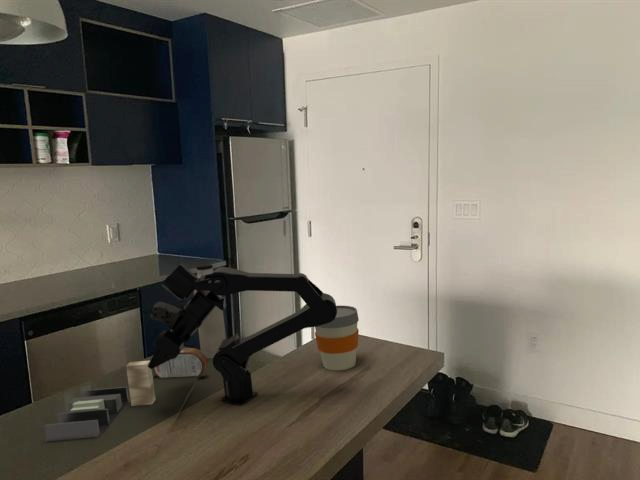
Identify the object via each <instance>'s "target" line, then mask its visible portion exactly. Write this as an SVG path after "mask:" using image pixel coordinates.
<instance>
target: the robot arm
mask: <svg viewBox="0 0 640 480" xmlns="http://www.w3.org/2000/svg"><path fill="white" fill-rule="evenodd" d="M161 286H162V287H163V288H165V290H167V291H168V292H169V293H171V294H172V295H173V296H174V297H176V298H177V300H184V299H186V300H188V299H189V297H191V295H192V294H193V296H192V297H191V299H190V300H189V301H188V302H187V303H186V305H183V307H181V308H179V307H177V306H175V305H172V304H169V303H166V302H163V301H158V302H155V303H154V304H153V306H152V307H153V308H152V310H151V311H150V316H149V318H150V319H151V320H154V321H159V322H162V323H165V324H166V327H167V328H168V330H162V331H161V332H160V333H159V334H158V335H157V336H156V337H155V338H154V339H153V341H152V342H153V345H154V346H155V351H154V353H153V355H152V357H151V359H150V360H149V361H150V363H149V365H148V367H149V368H150V369H152V370H153V368H155V367H157V366H159V365H161V364H163V363H165V362H167V361H169V360H171V359H175V358H176V357H177V356H178V355H179V353H180V352H181V351H182V349H183V348H184V347H185V346H184V344H185V343H186V342H188V341H189V340H190V339H191V338H192V337H193V336H194V335H195V333H196V332H197V331H198V328H199V327H200V326H201V324H202V323H203V322H204V321H205V319H206V318H207V317H208V316H209V314H210V313H211V312H212V311H213V310H214V308H215V307H216V306H217V307H218V308H219V309H220V310H223V311H224V310H225V309H226V307H227V304H226V296H229V295H234V294H238V293H242V292H247V291H251V292H252V291H256V292H291V293H293V292H295V293H297V294H298V295H299V296H300V298H301V299H302V300H303V302H305V304H304V305H303V306H302V307H301V308H300V309H299V310H298V311H296V312H295V313H292V314H291V315H288V316H286V317H284V318H282V319H280V320H278V321H276V322H274V323H273V324H271V325H269V326H266V327H264V328H261V329H260V330H258V331H256V332H253V334H249V335H248V336H245V337H240V336H239V333H238V332H237V333H235V334H234V335H232V336H230V337H229V338H226V339H223V341H222V343H221V345H220V346H219V347H218V349H217V351H216V353H215V355H214V357H213V358H212V365H213V367H214V369H215V370H216V371H217V372H219V373H220V375H221V377H222V378H223V380H222V382H223V390H224V391H223V392H224V396H222V397H221V398H220V400H221V401H222V400H224V401H223V402H226V401H228V402H227V403H229V402H231V403H230V404H233V403H235V405H237V404H238V406H241V405H242V404H244V403H246V402H248V401H250V400H251V399H253V398H254V396H255V397H256V396H257V394H258V392H257V391H254V390H253V382H252V373H251V372H250V371H249V370H248V367H249V365H250V361H251V358H250V357H251V356H253V355H254V354H256V353H257V352H260V351H262V350H263V349H266V348H268V347H270V346H272V345H273V344H277V343H278V342H280V341H282V340H284V339H285V338H288V337H290V336H292V335H294V334H296V333H298V332H300V331H301V330H303V329H308V328H309V329H310V328H315V327H317V326H320V325H324V324H327V323H330V322H332V321H333V320H334V319H335V317H336V315H337V307H336V306H337V303H336V300H335V298H334V297H333V296H332V295H330V294H329V293H326V292H325V293H324V292H323V290H321V289H320V288H319V287H318V285H316V284H314V283H313V282H312V281H311V280H310V279H309V278H308V276H307V275H306V274H305V273H302V272H299V273H274V272H273V273H269V272H268V273H263V272H262V273H261V272H247V271H243V270H240V269H237V268H232V267H226V266H221V267H218V268H216V269H215V270H213V273H211V274H207V275H203V276H200V277H199V278H198V277H197V274H195V273H194V272H192V271H191V270H190V269H188V267H187V266H186V265H184V263H180V264H179V265H178V266H177V267H176V268H175V269H174V270H173V271H172V272H171V273H170V274H168V275H167V276H166V278H165V279H164V281H162V283H161ZM194 290H197V292H196V294H195V295H194ZM209 291H210V292H209ZM218 295H219V296H221V297H219V296H218Z"/></svg>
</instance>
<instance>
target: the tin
mask: <svg viewBox="0 0 640 480" xmlns="http://www.w3.org/2000/svg"><path fill="white" fill-rule="evenodd" d="M208 362H209V361H208V358H206V356H205V355H204V353H203V352H201V349H198V348H194V347H189V348H187V347H185V348H183V349H182V351H181V352H180V353H179V355H178V356H177V357H176V358H175V359H171V360H169V361H167V362H165V363H163V364H161V365H159V366H157V367H155V368H153V369H152V372H154V374H155V376H156V377H157V378H160V379H163V378H178V377H179V378H182V377H183V378H185V377H196V379H199V378H200V377H201V376H202V375H203V374H204V373H205V372H207V369H208V364H209V363H208Z"/></svg>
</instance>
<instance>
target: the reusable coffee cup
mask: <svg viewBox="0 0 640 480" xmlns="http://www.w3.org/2000/svg"><path fill="white" fill-rule="evenodd" d="M336 307H337V315H336V317H335V319H334V320H333V321H332V322H330V323H327V324H324V325H320V326H317V327H314V330H315V332H314V335H315V336H314V337H315V341H316V345H317V349H318V350H319V352H320V357H321V362H322V366H323V368H324V367H325V368H324V369H326V370H329V371H344V370H348V369H349V370H350V369H351V368H353V367H354V366H355V365H356V360H357V358H356V357H357V348H358V346H359V328H358V323H359V315H358V309H357V308H356V307H355V306H350V305H336Z"/></svg>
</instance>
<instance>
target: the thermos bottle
mask: <svg viewBox="0 0 640 480" xmlns="http://www.w3.org/2000/svg"><path fill="white" fill-rule="evenodd" d="M195 268H196V276H197V277H198V278H199V277H200V276H203V275H207V274H211V273H213V272H214V269H213V268H214V267H213V264H210V263H209V264H207V263H206V264H200V265H197V266H196V267H195ZM196 292H197V290H194V292H193V296H194V295H195V294H196ZM209 292H210V291H209ZM218 296H219V295H218ZM219 297H222V296H219ZM225 325H226V324H225V318H224V310H220V309H219V308H218V307H217V306H216V307H215V308H214V310H213V311H212V312H211V313H210V314H209V316H208V317H207V318H206V319H205V321H204V322H203V323H202V324H201V326H200V327H199V328H198V329H197V331H198V339H199V346H200V351H201V352H203V353H204V355H205V356H206V358H207V359H213V357H214V355H215V353H216V351H217V349H218V347H219V346H220V345H221V343H222V341H223V339H227V337H226V327H225Z"/></svg>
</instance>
